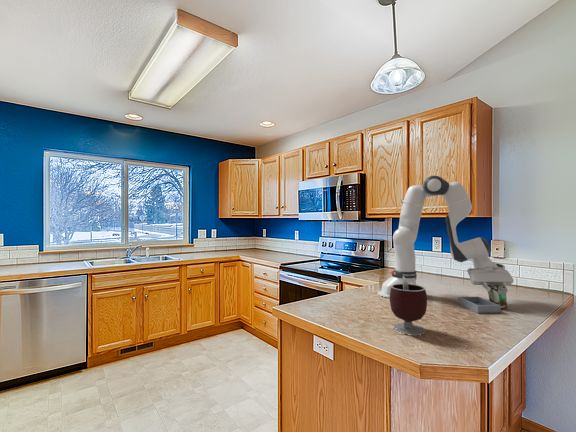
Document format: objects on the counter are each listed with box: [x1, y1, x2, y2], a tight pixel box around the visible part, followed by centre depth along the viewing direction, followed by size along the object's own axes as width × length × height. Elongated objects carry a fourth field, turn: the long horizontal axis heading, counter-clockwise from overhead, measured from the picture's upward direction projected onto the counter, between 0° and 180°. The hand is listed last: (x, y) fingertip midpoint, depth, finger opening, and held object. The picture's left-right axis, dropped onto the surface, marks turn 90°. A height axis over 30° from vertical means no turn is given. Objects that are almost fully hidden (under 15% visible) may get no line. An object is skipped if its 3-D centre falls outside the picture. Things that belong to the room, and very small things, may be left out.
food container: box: [487, 284, 508, 311], centre depth 153 cm, size 12×6×10 cm, turn 172°
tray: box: [457, 296, 501, 314], centre depth 152 cm, size 11×17×4 cm, turn 0°
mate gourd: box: [389, 276, 428, 336], centre depth 124 cm, size 16×14×20 cm
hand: (497, 291), depth 154 cm, fingers closed on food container, 6 cm apart
